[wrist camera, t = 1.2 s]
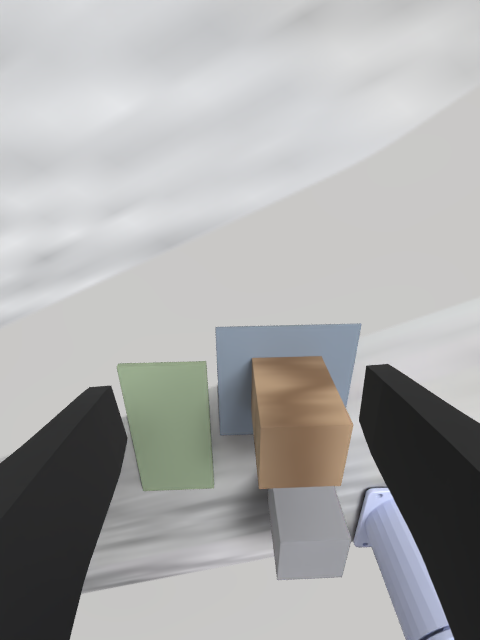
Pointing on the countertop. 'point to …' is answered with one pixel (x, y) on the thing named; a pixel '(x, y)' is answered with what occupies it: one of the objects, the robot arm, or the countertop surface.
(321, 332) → the blue card
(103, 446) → the robot arm
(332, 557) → the grey block
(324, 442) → the walnut block
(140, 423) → the rubber mat
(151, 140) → the countertop surface
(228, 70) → the countertop surface
